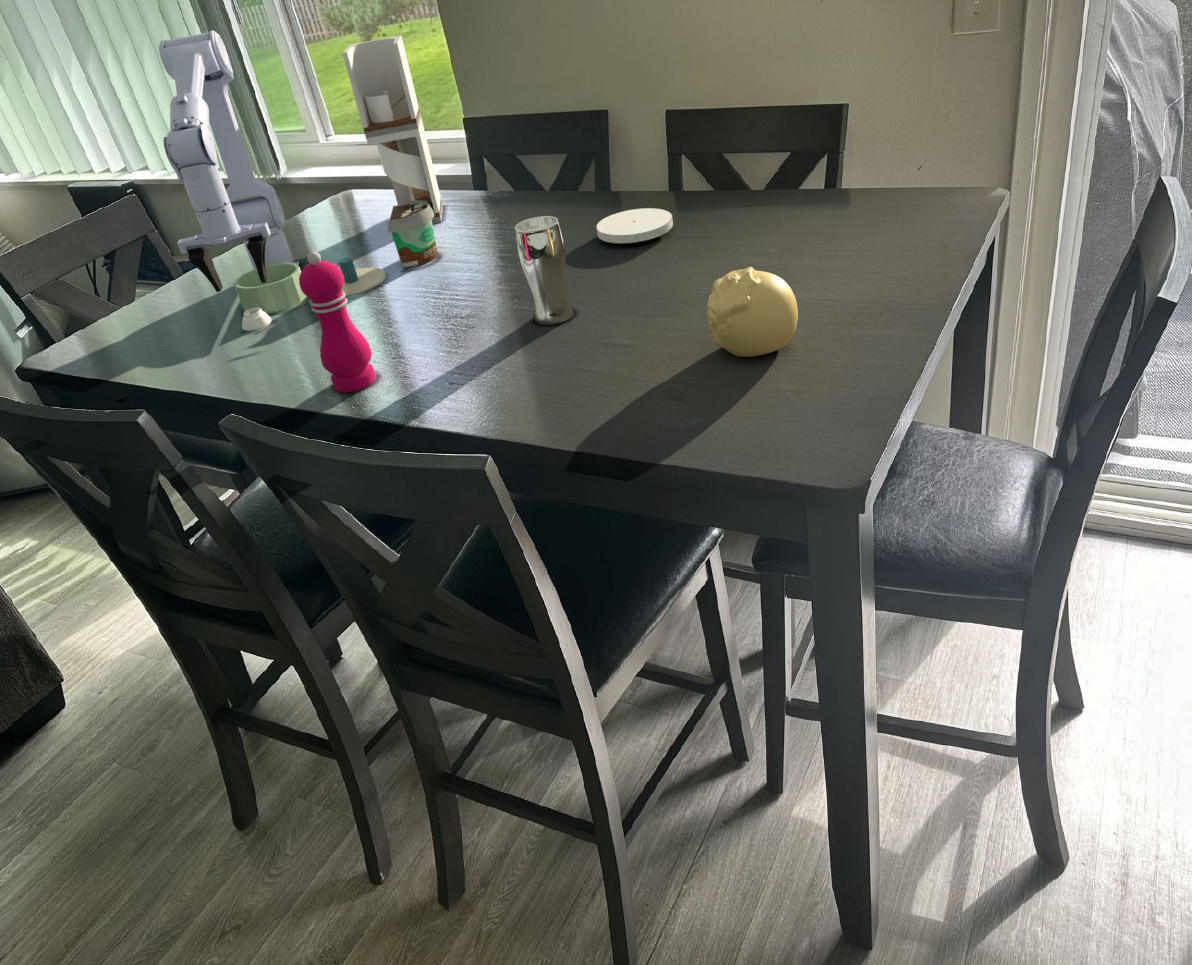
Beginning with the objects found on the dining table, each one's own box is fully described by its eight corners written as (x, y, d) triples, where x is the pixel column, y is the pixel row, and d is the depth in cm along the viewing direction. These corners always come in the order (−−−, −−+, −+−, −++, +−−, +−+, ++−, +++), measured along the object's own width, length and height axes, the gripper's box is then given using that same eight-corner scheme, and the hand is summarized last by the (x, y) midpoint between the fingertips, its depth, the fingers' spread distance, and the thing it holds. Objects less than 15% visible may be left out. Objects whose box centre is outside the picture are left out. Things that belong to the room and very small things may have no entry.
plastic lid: (686, 223, 173) (685, 209, 172) (649, 251, 164) (648, 237, 162) (622, 219, 180) (621, 206, 179) (584, 246, 171) (581, 232, 170)
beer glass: (582, 307, 147) (566, 214, 139) (567, 326, 142) (549, 231, 134) (542, 307, 150) (524, 216, 142) (525, 326, 145) (505, 232, 136)
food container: (431, 272, 172) (417, 219, 166) (401, 274, 173) (386, 221, 168) (453, 247, 182) (440, 196, 176) (423, 249, 183) (410, 199, 178)
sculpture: (707, 334, 133) (700, 262, 127) (792, 323, 131) (789, 250, 125) (713, 370, 123) (706, 294, 117) (805, 359, 122) (802, 282, 116)
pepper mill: (334, 375, 140) (291, 247, 129) (382, 367, 140) (342, 238, 129) (327, 398, 134) (280, 266, 123) (376, 389, 134) (334, 256, 123)
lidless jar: (277, 324, 162) (264, 318, 165) (271, 308, 160) (258, 303, 163) (251, 335, 159) (238, 329, 162) (245, 319, 157) (232, 314, 161)
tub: (250, 298, 175) (240, 270, 172) (311, 286, 176) (302, 258, 173) (240, 322, 165) (229, 293, 162) (305, 308, 166) (295, 279, 163)
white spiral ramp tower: (395, 215, 206) (349, 44, 187) (442, 206, 207) (401, 35, 187) (391, 231, 197) (342, 53, 178) (441, 221, 197) (397, 43, 178)
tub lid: (322, 281, 177) (313, 255, 174) (387, 268, 178) (380, 242, 175) (316, 305, 166) (306, 278, 164) (385, 291, 167) (377, 264, 164)
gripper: (161, 222, 147) (194, 302, 154) (253, 204, 147) (281, 284, 155) (171, 209, 153) (203, 287, 160) (259, 192, 153) (286, 270, 161)
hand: (242, 285), depth 158 cm, fingers open, 7 cm apart
